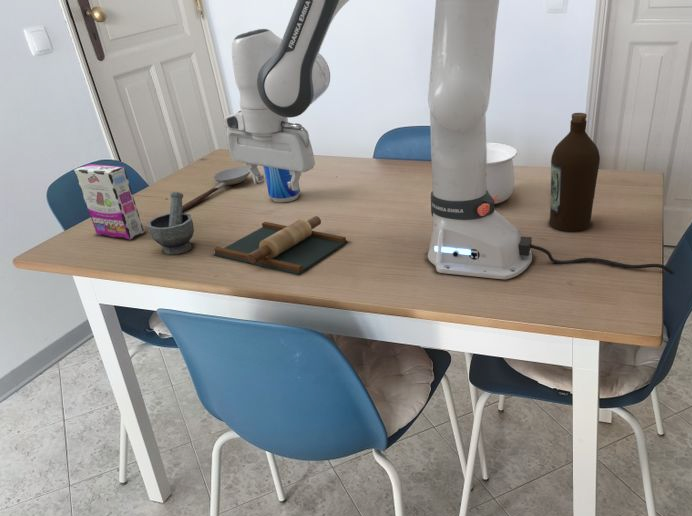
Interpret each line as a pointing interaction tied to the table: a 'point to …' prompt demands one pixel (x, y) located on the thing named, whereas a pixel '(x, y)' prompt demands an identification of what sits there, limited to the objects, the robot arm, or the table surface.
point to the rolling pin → (284, 239)
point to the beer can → (279, 185)
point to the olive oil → (573, 178)
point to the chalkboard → (289, 260)
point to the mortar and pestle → (173, 227)
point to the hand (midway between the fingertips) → (276, 186)
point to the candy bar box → (109, 201)
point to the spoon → (221, 183)
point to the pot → (500, 170)
